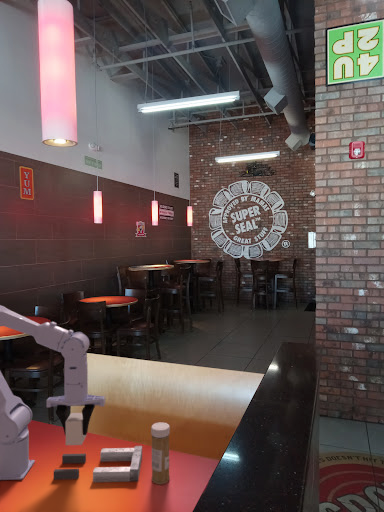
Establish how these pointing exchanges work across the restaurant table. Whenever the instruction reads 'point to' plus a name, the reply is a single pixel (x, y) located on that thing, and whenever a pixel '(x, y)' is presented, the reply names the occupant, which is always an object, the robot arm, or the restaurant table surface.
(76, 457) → the pair of grey blocks
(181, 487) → the restaurant table surface
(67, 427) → the plug
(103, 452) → the block
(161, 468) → the sprinkles bottle
